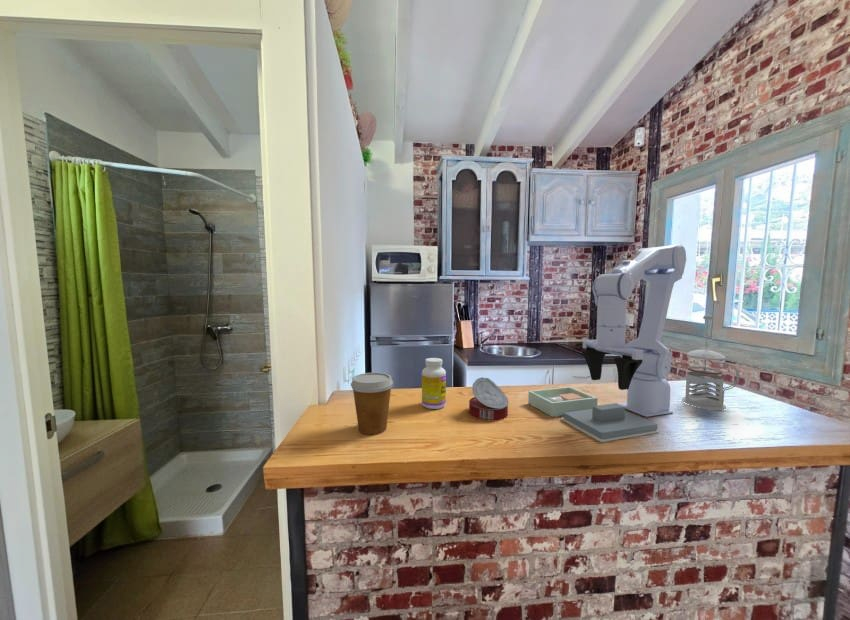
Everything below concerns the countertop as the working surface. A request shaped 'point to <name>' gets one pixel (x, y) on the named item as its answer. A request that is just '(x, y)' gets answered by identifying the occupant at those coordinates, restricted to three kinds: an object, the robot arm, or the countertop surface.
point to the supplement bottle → (433, 384)
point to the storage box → (561, 400)
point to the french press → (706, 380)
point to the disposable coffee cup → (372, 401)
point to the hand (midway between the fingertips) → (609, 384)
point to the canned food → (488, 401)
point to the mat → (608, 438)
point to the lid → (609, 421)
